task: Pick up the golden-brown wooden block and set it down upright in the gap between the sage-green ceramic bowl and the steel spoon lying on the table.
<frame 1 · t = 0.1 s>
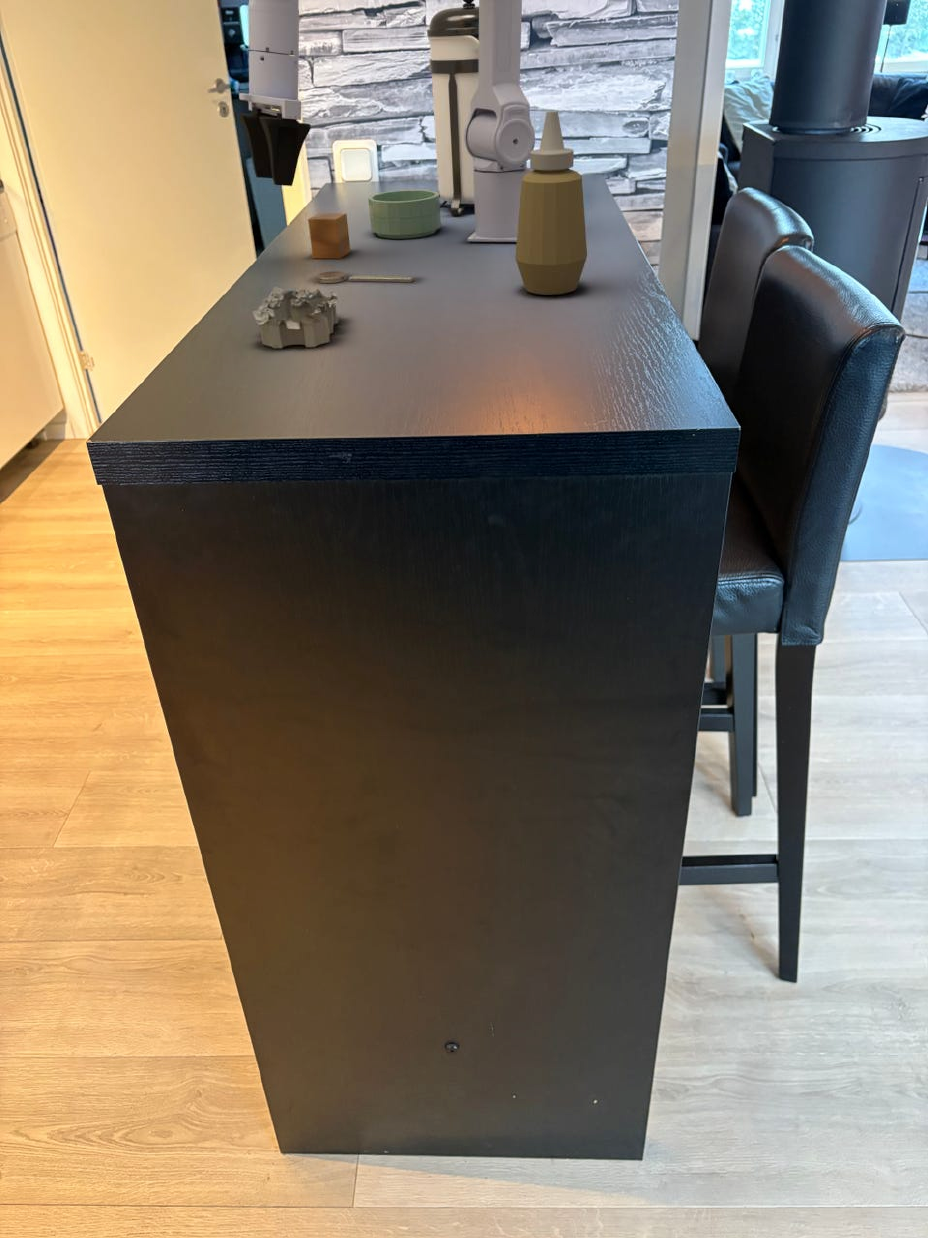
hand: (273, 181, 115), 10 cm above the table, tool pointing down, fingers open, 7 cm apart
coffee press: (471, 207, 153), on the table
spoon: (362, 279, 114), on the table
block: (332, 255, 127), on the table
squeeze bottle: (551, 291, 107), on the table
grey succulent planter: (300, 335, 97), on the table
bowl: (406, 232, 138), on the table
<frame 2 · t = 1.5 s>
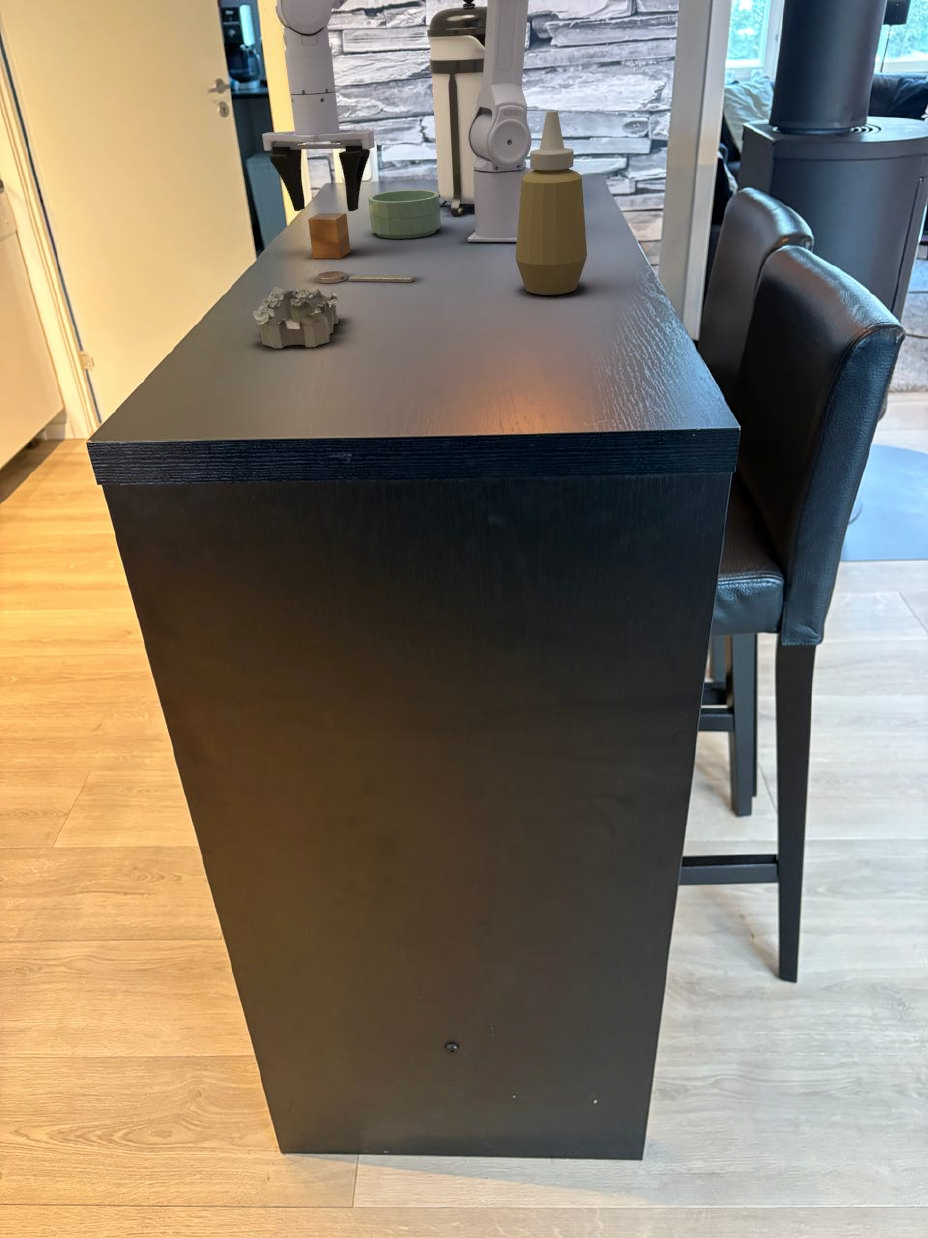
hand: (326, 209, 124), 6 cm above the table, tool pointing down, fingers open, 7 cm apart
nothing on the table moved.
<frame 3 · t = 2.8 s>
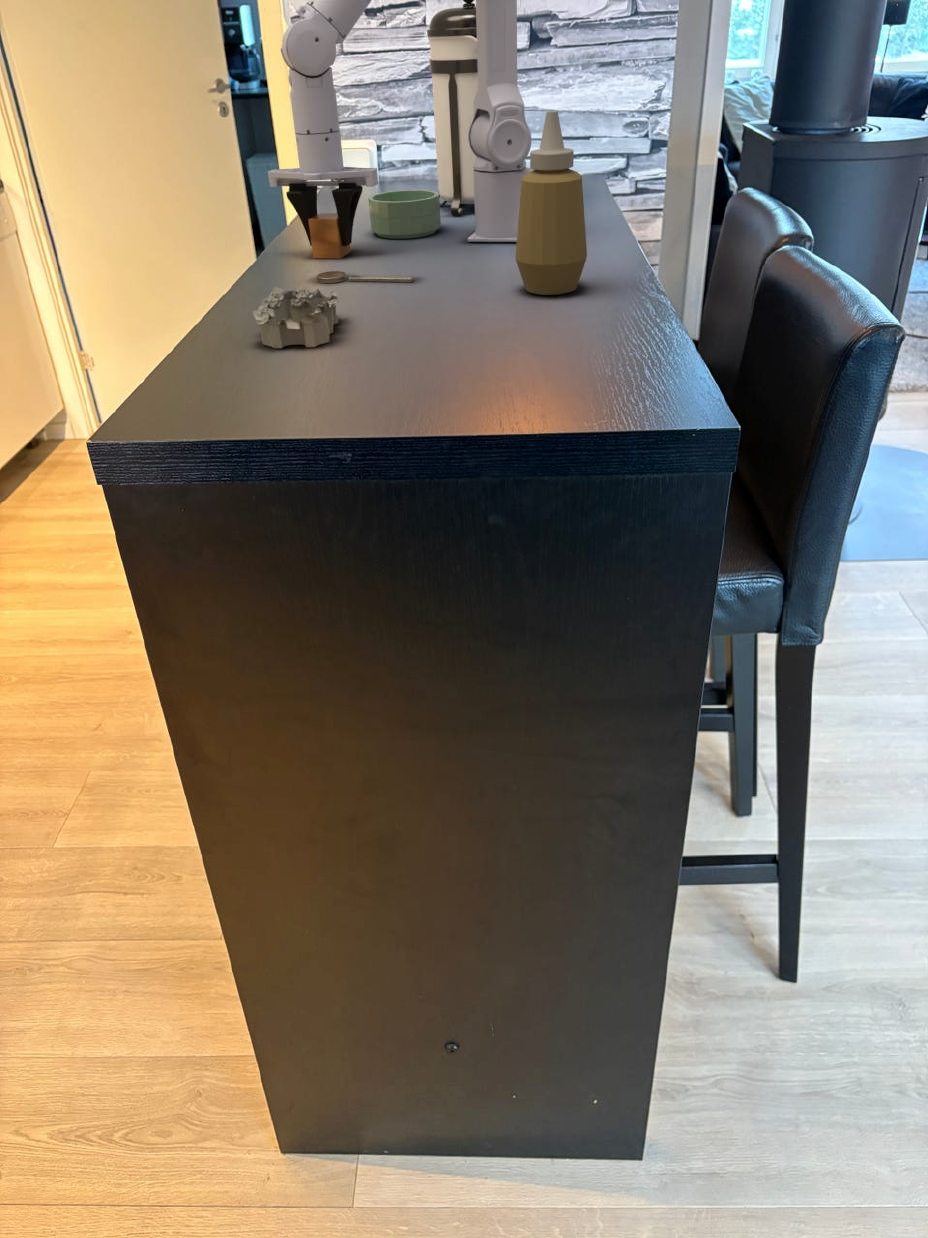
hand: (330, 244, 126), 1 cm above the table, tool pointing down, fingers closed on block, 4 cm apart
block: (332, 255, 127), on the table, touching gripper
everything else where it was.
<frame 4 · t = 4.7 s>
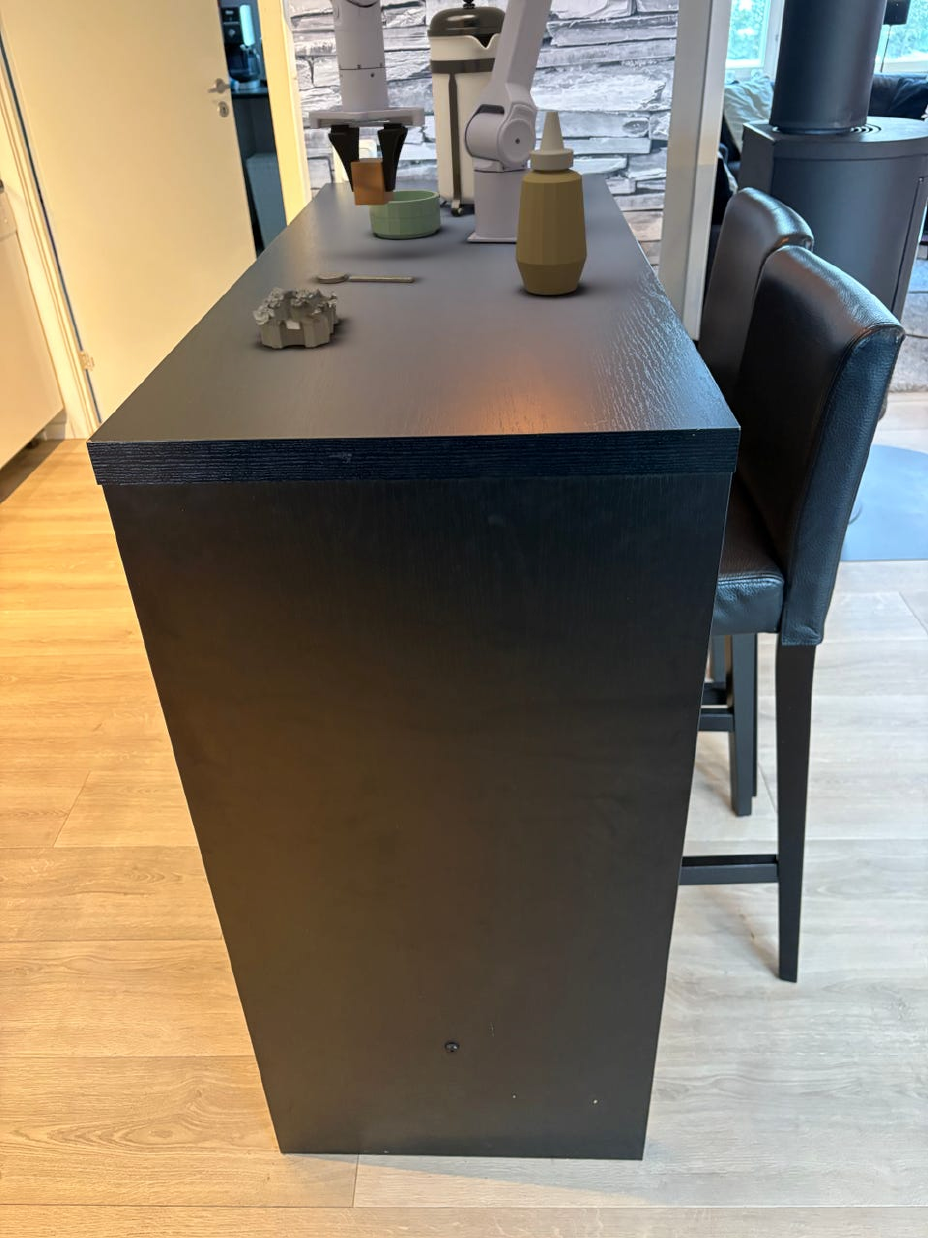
hand: (373, 190, 120), 8 cm above the table, tool pointing down, fingers closed on block, 4 cm apart
block: (374, 202, 121), point 7 cm above the table, touching gripper
everything else where it was.
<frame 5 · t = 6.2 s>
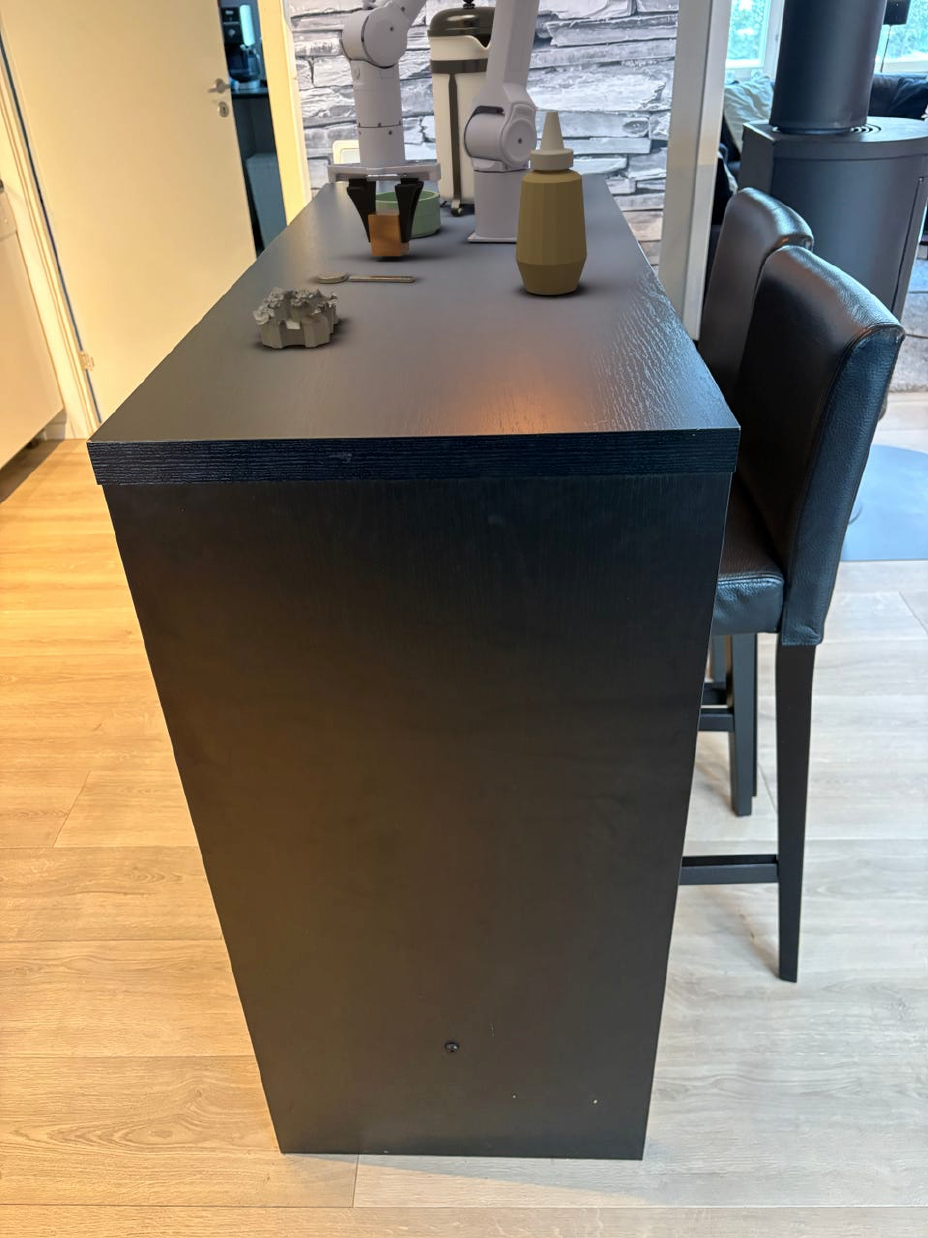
hand: (389, 241, 122), 2 cm above the table, tool pointing down, fingers closed on block, 4 cm apart
block: (390, 252, 123), point 1 cm above the table, touching gripper
everything else where it was.
when the fingers open (1 cm above the table, at t = 6.8 s): block stays where it is, on the table.
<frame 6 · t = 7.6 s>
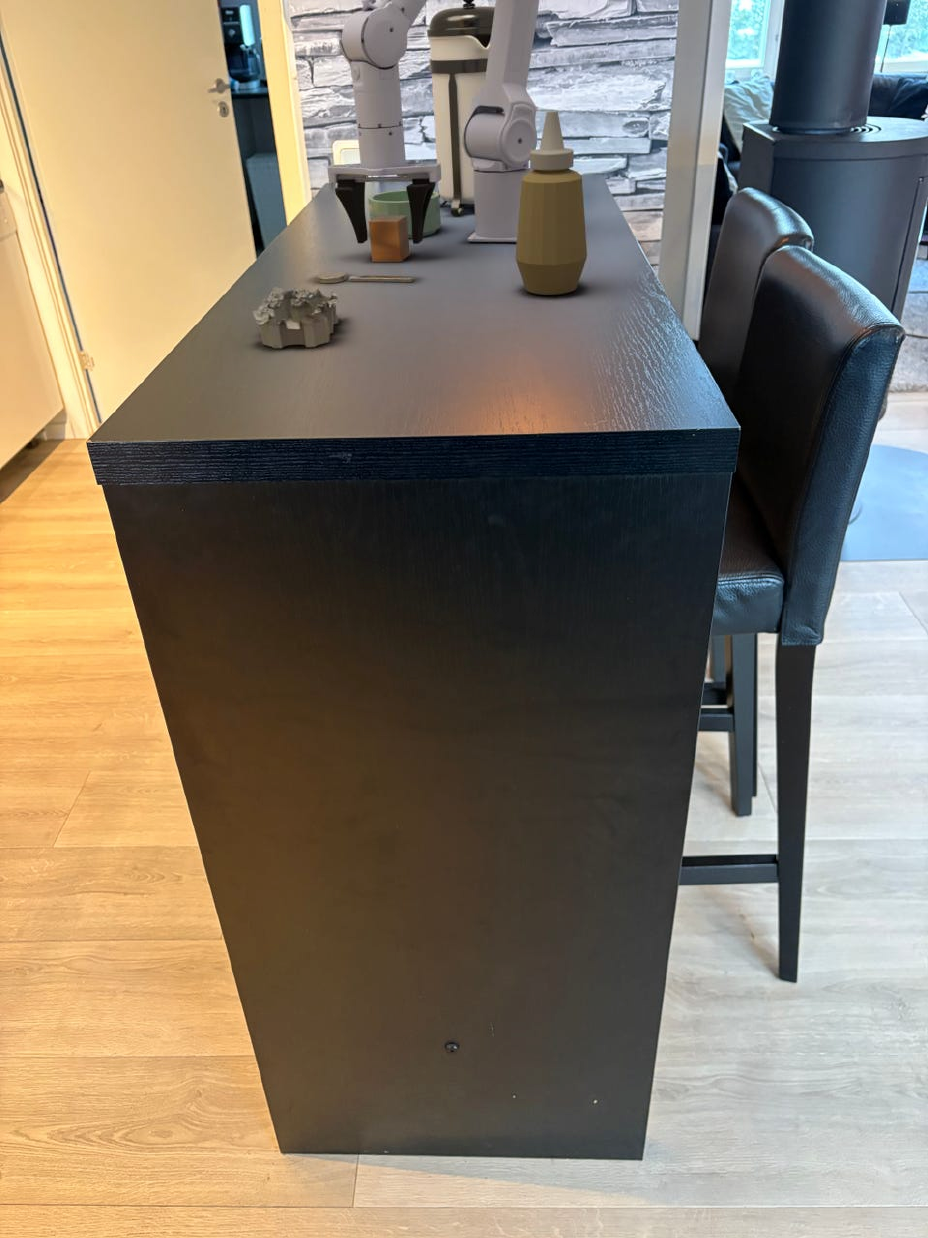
hand: (390, 241, 123), 2 cm above the table, tool pointing down, fingers open, 7 cm apart
block: (391, 258, 124), on the table
everything else where it was.
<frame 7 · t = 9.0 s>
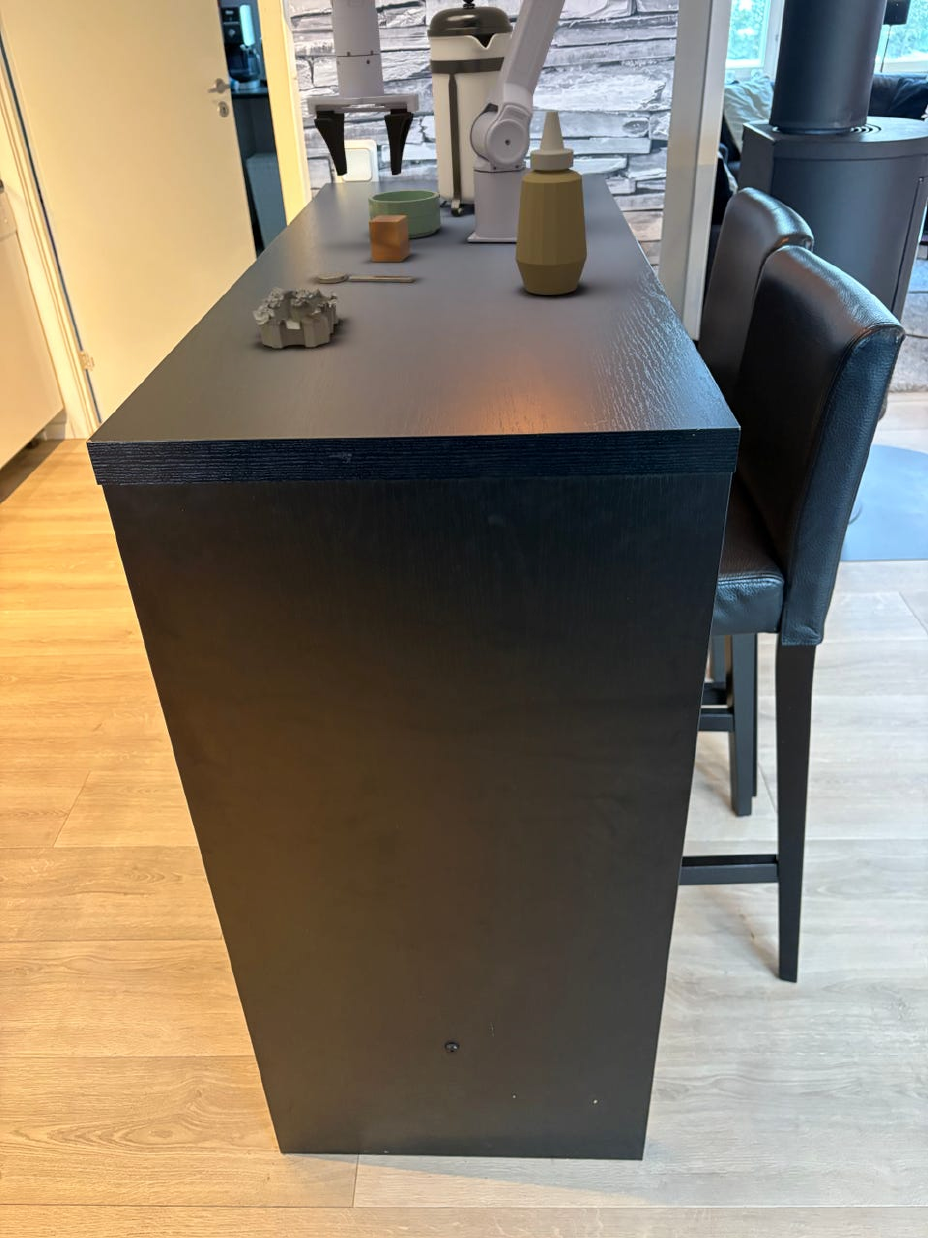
hand: (369, 174, 124), 9 cm above the table, tool pointing down, fingers open, 7 cm apart
nothing on the table moved.
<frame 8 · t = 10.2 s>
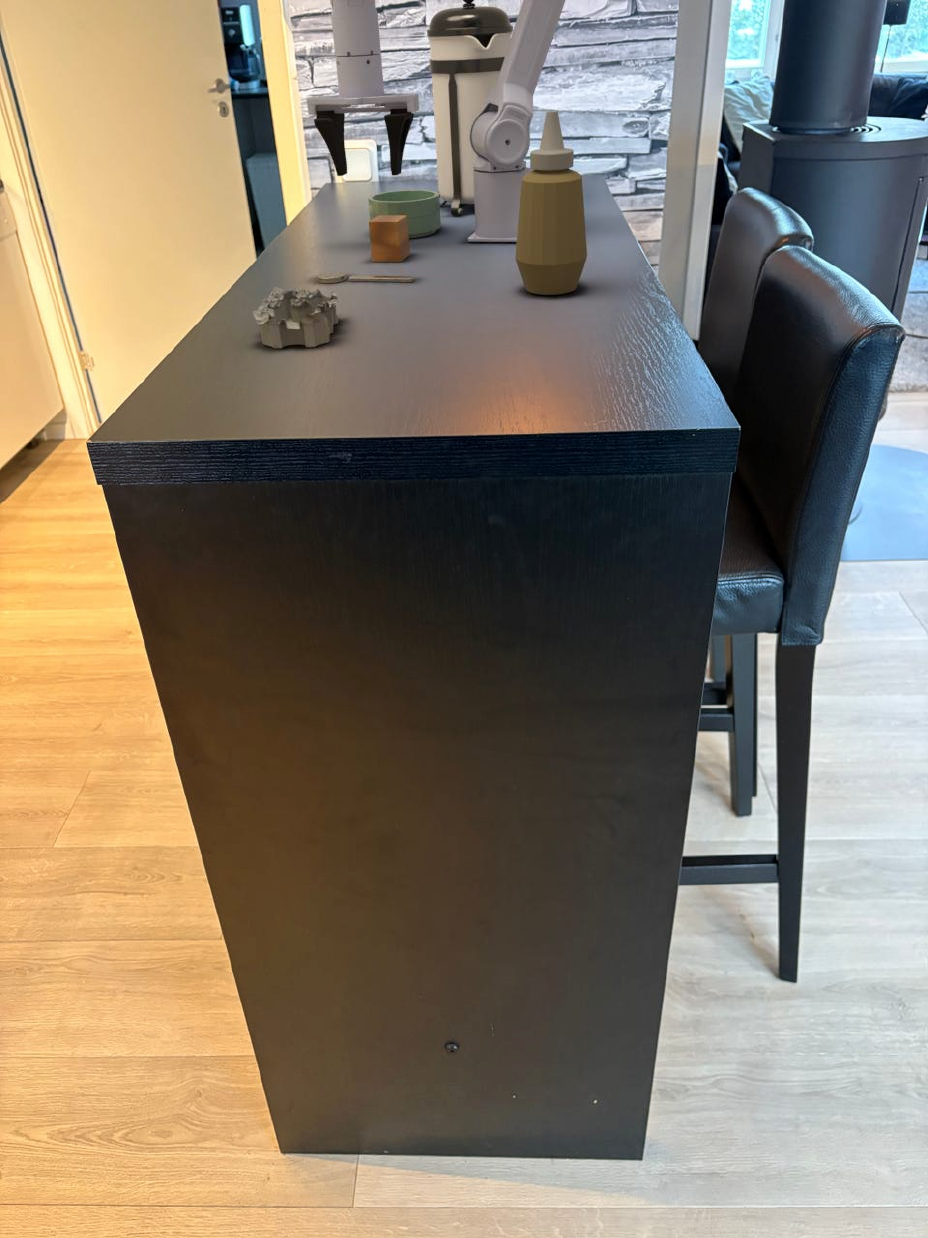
hand: (369, 174, 124), 9 cm above the table, tool pointing down, fingers open, 7 cm apart
nothing on the table moved.
at the end: block inside the target area on the table beside the bowl (0.5 cm from its centre), on the table; block 11.4 cm from the spoon (horizontally); block tilted 0° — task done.
